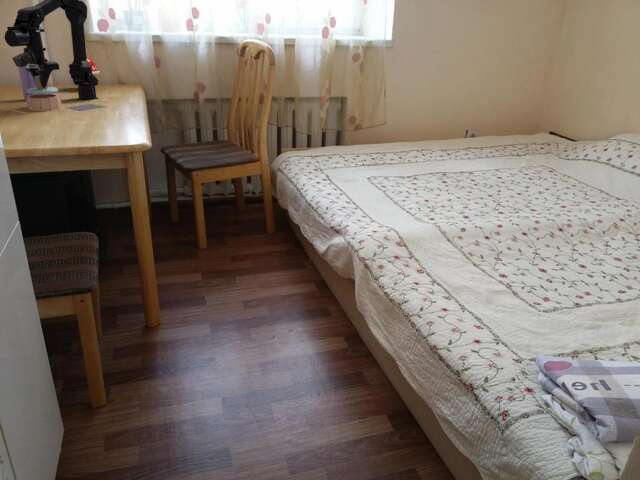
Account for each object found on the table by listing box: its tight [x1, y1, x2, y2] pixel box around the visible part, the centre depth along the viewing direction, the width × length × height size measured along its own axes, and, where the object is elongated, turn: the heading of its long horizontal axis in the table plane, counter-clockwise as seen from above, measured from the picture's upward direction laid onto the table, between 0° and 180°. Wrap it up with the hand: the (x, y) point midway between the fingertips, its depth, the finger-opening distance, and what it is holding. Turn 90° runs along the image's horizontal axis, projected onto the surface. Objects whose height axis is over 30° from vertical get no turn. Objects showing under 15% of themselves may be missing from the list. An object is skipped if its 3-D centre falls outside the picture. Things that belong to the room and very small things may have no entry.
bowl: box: [26, 93, 63, 112], centre depth 210 cm, size 12×12×5 cm
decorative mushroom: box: [68, 57, 101, 88], centre depth 253 cm, size 14×14×15 cm
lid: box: [26, 76, 59, 94], centre depth 207 cm, size 11×11×6 cm
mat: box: [65, 103, 106, 112], centre depth 214 cm, size 12×10×1 cm
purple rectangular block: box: [17, 66, 36, 102], centre depth 224 cm, size 6×6×15 cm
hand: (41, 87), depth 207 cm, fingers closed on lid, 3 cm apart
